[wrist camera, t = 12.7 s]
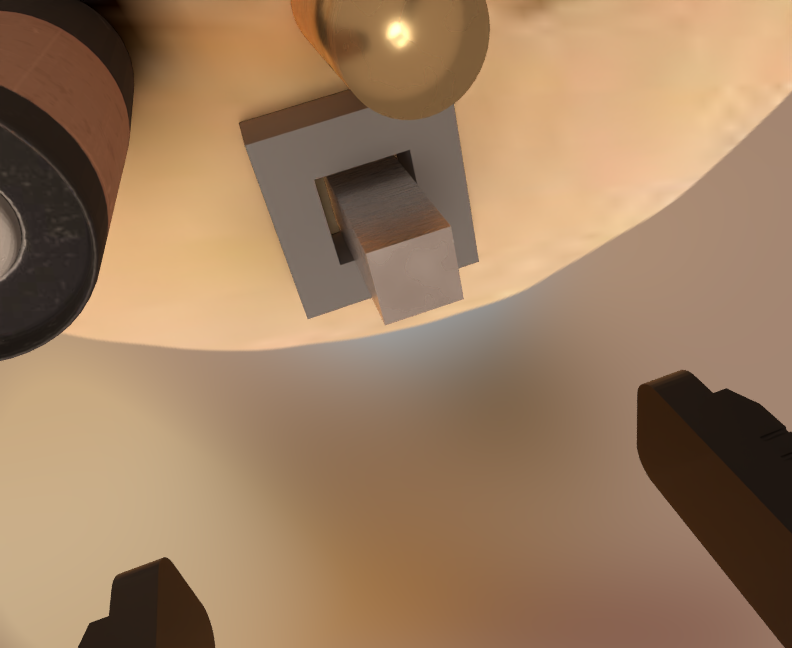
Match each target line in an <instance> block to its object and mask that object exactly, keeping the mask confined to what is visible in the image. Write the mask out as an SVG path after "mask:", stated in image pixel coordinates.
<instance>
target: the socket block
mask: <svg viewBox="0 0 792 648" xmlns="http://www.w3.org/2000/svg"><path fill="white" fill-rule="evenodd" d="M239 125H240V129H241V133H242V137H243V140H244V144H245V147H246V150H247V153H248V156H249V158H250V161H251V164H252V167H253V169H254V172H255V175H256V178H257V180H258V183H259V186H260V189H261V192H262V194H263V197H264V200H265V203H266V205H267V208H268V211H269V214H270V216H271V219H272V222H273V225H274V227H275V230H276V233H277V236H278V238H279V241H280V244H281V247H282V249H283V252H284V255H285V258H286V260H287V263H288V266H289V269H290V271H291V274H292V277H293V280H294V282H295V285H296V288H297V291H298V293H299V296H300V299H301V302H302V304H303V307H304V310H305V313H306V315H307V318H308V319H310V318H313V317H316V316H319V315H322V314H325V313H328V312H331V311H334V310H337V309H340V308H342V307H345V306H348V305H351V304H354V303H357V302H360V301H363V300H366V299H369V298H372V297H371V295H370V292H369V290H368V288H367V286H366V284H365V282H364V280H363V278H362V276H361V273H360V271H359V269H358V267H357V265H356V263H355V261H354V259H353V256H352V254H351V252H350V250H349V248H348V246H347V244H346V242H345V239H344V237H343V235H342V233H341V232H338V233H335V234H332V235H331V233H330V230H329V227H328V224H327V220H326V217H325V214H324V211H323V207H322V204H321V201H320V198H319V194H318V191H317V188H316V185H315V181H314V180H315V179H318V178H322V177H325V176H328V175H331V174H334V173H337V172H341V171H344V170H347V169H350V168H353V167H356V166H360V165H363V164H366V163H369V162H372V161H375V160H379V159H382V158H385V157H388V156H391V155H394V154H397V159H398V161H399V162H400V164H401V165H402V166H403V167H404V169H405V170H406V171H407V172H408V174H409V175H410V176H411V177H412V179H413V180H414V181H415V182H416V184H417V185H418V186H419V187H420V188H421V190H422V191H423V192H424V193H425V195H426V196H427V197H428V198H429V200H430V201H431V202H432V203H433V205H434V206H435V207H436V208H437V210H438V211H439V212H440V213H441V214H442V216H443V217H444V218H445V219H446V221H447V222H448V223H449V224H450V226H451V229H452V235H453V240H454V246H455V252H456V258H457V263H458V268H461V267H464V266H467V265H470V264H473V263H476V262H479V259H478V253H477V246H476V240H475V234H474V228H473V221H472V215H471V209H470V203H469V196H468V190H467V184H466V177H465V171H464V165H463V159H462V152H461V146H460V140H459V134H458V127H457V121H456V115H455V108H454V104H453V105H451V106H450V107H448V108H447V109H445V110H443V111H442V112H440V113H438V114H435V115H433V116H430V117H427V118H422V119H417V120H399V119H393V118H389V117H386V116H383V115H381V114H379V113H377V112H375V111H373V110H371V109H370V108H368V107H367V106H366V105H364V104H363V103H362V102H361V101H360V100H359V99H358V98H357V97H356V96H355V95H354V93H353V92H352V91H351V90H350V89H349V90H346V91H342V92H339V93H336V94H333V95H329V96H326V97H323V98H319V99H316V100H313V101H309V102H306V103H303V104H300V105H296V106H293V107H290V108H286V109H283V110H280V111H277V112H273V113H270V114H267V115H263V116H260V117H257V118H253V119H250V120H247V121H244V122H240V123H239Z"/></svg>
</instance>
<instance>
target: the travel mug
mask: <svg viewBox="0 0 792 648" xmlns="http://www.w3.org/2000/svg"><path fill="white" fill-rule="evenodd" d="M133 93H134V76H133V69H132V64H131V60H130V57H129V54H128V52H127V50H126V47H125V45H124V43H123V42H122V40H121V38H120V37H119V35H118V34H117V32H116V31H115V30H114V28H113V27H112V26H111V25H110V24H109V23H108V22H107V21H106V20H105V19H104V18H103V17H102V16H101V15H100V14H99V13H97V12H96V11H95V10H94V9H92V8H91V7H89V6H88V5H86V4H84V3H82V2H80V1H78V0H0V361H2V360H6V359H11V358H14V357H16V356H19V355H22V354H25V353H28V352H30V351H32V350H34V349H36V348H38V347H40V346H42V345H44V344H46V343H47V342H49V341H50V340H52V339H53V338H55V337H56V336H58V335H59V334H60V333H62V332H63V331H64V330H65V329H66V328H67V327H68V326H70V325H71V324H72V322H73V321H74V320H75V319H76V318H77V317H78V315H79V314H80V313H81V312H82V310H83V308H84V307H85V305H86V303H87V302H88V300H89V299H90V297H91V294H92V292H93V289H94V287H95V284H96V282H97V279H98V275H99V271H100V266H101V262H102V258H103V253H104V249H105V245H106V240H107V236H108V232H109V228H110V223H111V219H112V215H113V210H114V206H115V202H116V198H117V193H118V189H119V185H120V180H121V176H122V172H123V168H124V163H125V159H126V155H127V150H128V146H129V138H130V127H131V116H132V105H133Z"/></svg>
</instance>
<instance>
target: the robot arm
mask: <svg viewBox="0 0 792 648" xmlns="http://www.w3.org/2000/svg"><path fill="white" fill-rule="evenodd" d="M637 450H638V454H639V458H640V460H641V463H642V465H643V468H644V470H645V471H646V473H647V475H648V477H649V478H650V480H651V481H652V482H653V483H654V484H655V486H656V487H657V488H658V490H659V491H660V492H661V493H662V495H663V496H664V497H665V499H666V500H667V501H668V502H669V503H670V505H671V506H672V507H673V509H674V510H675V511H676V512H677V513H678V515H679V516H680V517H681V519H683V521H684V522H685V524H686V525H687V526H688V527H689V529H690V530H691V531H692V532H693V534H694V535H695V536H696V537H697V539H698V540H699V541H700V542H701V544H702V545H703V546H704V547H705V548H706V550H707V551H708V552H709V554H710V555H711V556H712V557H713V559H714V560H715V561H716V562H717V564H718V565H719V566H720V567H721V569H722V570H723V571H724V572H725V574H726V575H727V576H728V577H729V579H730V580H731V581H732V582H733V584H734V585H735V586H736V587H737V589H738V590H739V591H740V592H741V594H742V595H743V596H744V597H745V599H746V600H747V601H748V602H749V604H750V605H751V606H752V607H753V608H754V610H755V611H756V612H757V614H758V615H759V616H760V617H761V619H762V620H763V621H764V622H765V623H766V625H767V626H768V627H769V629H770V630H771V631H772V632H773V634H774V635H775V636H776V637H777V639H778V640H779V641H780V642H781V644H782V645H783V646H784V647H785V648H792V432H788V431H787V430H786V427H785V426H784V425H783V424H782V423H781V422H780V421H778V420H777V419H776V418H775V417H774V416H773V415H772V414H771V413H770V412H768V411H767V410H766V409H765V408H764V407H763V406H761V405H760V404H759V403H757V402H754V401H752V400H750V399H748V398H746V397H744V396H742V395H739V394H737V393H735V392H733V391H731V390H729V389H724V390H721V391H718V392H715V393H712V392H711V391H710V390H709V389H708V388H707V387H706V386H705V385H704V384H703V383H702V382H701V381H700V380H699V379H698V378H697V377H695V376H694V375H693V374H692V373H690V372H689V371H686V370H680V371H677V372H674V373H672V374H669V375H666V376H663V377H661V378H658V379H655V380H652V381H650V382H647V383H644V384H642V385H640V386H639V388H638V394H637ZM78 648H215V641H214V635H213V630H212V626H211V623H210V620H209V617H208V614H207V612H206V610H205V608H204V606H203V605H202V603H201V602H200V601H199V599H198V598H197V596H196V595H195V594H194V592H193V591H192V590H191V588H190V587H189V586H188V584H187V582H186V581H185V580H184V578H183V577H182V576H181V574H180V573H179V571H178V570H177V568H176V567H175V566H174V564H173V563H172V562H171V561H170V560H169V559H168V558H166V557H164V558H161V559H159V560H156V561H153V562H150V563H148V564H145V565H142V566H139V567H137V568H134V569H131V570H129V571H126V572H123V573H121V574H118V575H117V576H116V577H115V578H114V580H113V584H112V590H111V600H110V611H109V616H108V617H105V618H102V619H100V620H97V621H94V622H92V623H89V625H88V628H87V630H86V632H85V634H84V636H83V638H82V640H81V642H80V644H79V646H78Z"/></svg>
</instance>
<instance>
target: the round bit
mask: <svg viewBox="0 0 792 648" xmlns="http://www.w3.org/2000/svg"><path fill="white" fill-rule="evenodd" d="M291 7H292V12H293V15H294V18H295V21H296V23H297V25H298V27H299V29H300V30H301V32H302V33H303V35H304V36H305V37H306V39H307V40H308V41H309V42H310V43H311V44H312V46H313V47H314V48H315V49H316V50H317V51H318V53H319V54H320V55H321V56H322V57H323V58H324V60H325V61H326V62H327V63H328V64H329V65H330V67H331V68H332V69H333V70H334V71H335V72H336V74H337V75H338V76H339V77H340V78H341V79H342V81H343V82H344V83H345V84H346V85H347V86H348V88H349V89H350V90H351V91H352V92H353V93H354V95H355V96H356V97H357V98H358V99H359V100H360V101H361V102H362V103H363V104H364V105H366V106H367V107H368V108H370V109H371V110H373V111H375V112H377V113H379V114H381V115H383V116H386V117H389V118H393V119H399V120H417V119H422V118H427V117H430V116H433V115H435V114H438V113H440V112H442V111H443V110H445V109H447V108H448V107H450V106H451V105H453V104H454V103H455V102H456V101H458V100H459V99H460V98H461V97H462V96H463V95H464V94H465V93H466V91H467V90H468V89H469V88H470V86H471V85H472V84H473V82H474V81H475V79H476V77H477V75H478V74H479V72H480V70H481V67H482V65H483V62H484V60H485V56H486V53H487V49H488V43H489V32H490V24H489V14H488V8H487V4H486V1H485V0H291Z"/></svg>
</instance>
